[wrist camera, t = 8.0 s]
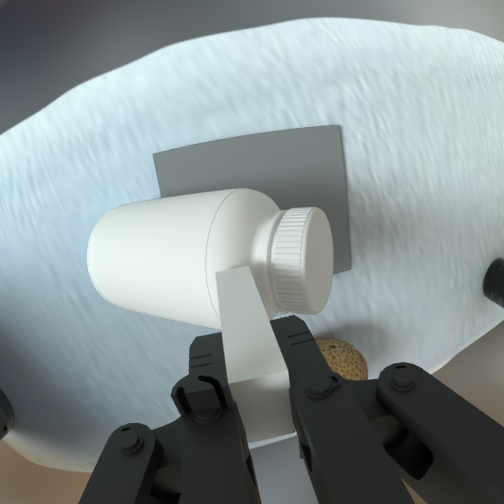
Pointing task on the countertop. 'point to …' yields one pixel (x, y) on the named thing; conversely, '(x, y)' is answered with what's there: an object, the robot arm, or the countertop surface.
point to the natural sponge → (343, 359)
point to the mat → (269, 174)
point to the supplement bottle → (495, 282)
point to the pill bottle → (210, 254)
